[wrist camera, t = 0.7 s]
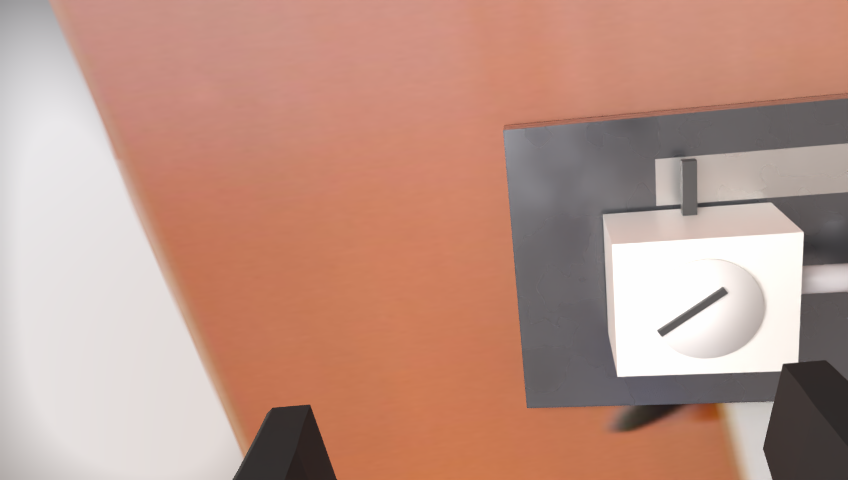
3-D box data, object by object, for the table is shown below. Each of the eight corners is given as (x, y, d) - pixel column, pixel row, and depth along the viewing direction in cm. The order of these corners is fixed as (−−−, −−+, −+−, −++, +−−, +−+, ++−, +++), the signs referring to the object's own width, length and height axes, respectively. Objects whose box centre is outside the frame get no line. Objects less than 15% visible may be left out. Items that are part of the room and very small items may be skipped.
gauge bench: (1126, 377, 28) (1243, 455, 24) (527, 395, 32) (525, 465, 28) (1189, 61, 25) (1343, 78, 20) (504, 125, 29) (498, 152, 24)
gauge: (868, 321, 28) (918, 371, 24) (608, 333, 29) (618, 381, 26) (882, 139, 26) (939, 164, 22) (600, 162, 27) (610, 189, 24)
